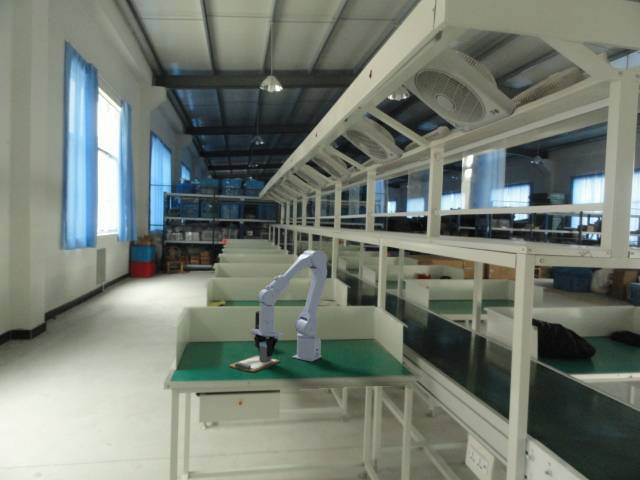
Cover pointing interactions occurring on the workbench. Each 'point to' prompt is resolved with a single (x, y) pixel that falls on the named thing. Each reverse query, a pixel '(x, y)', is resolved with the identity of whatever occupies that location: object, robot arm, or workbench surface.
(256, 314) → the deodorant
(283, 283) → the robot arm
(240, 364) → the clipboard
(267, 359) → the block
